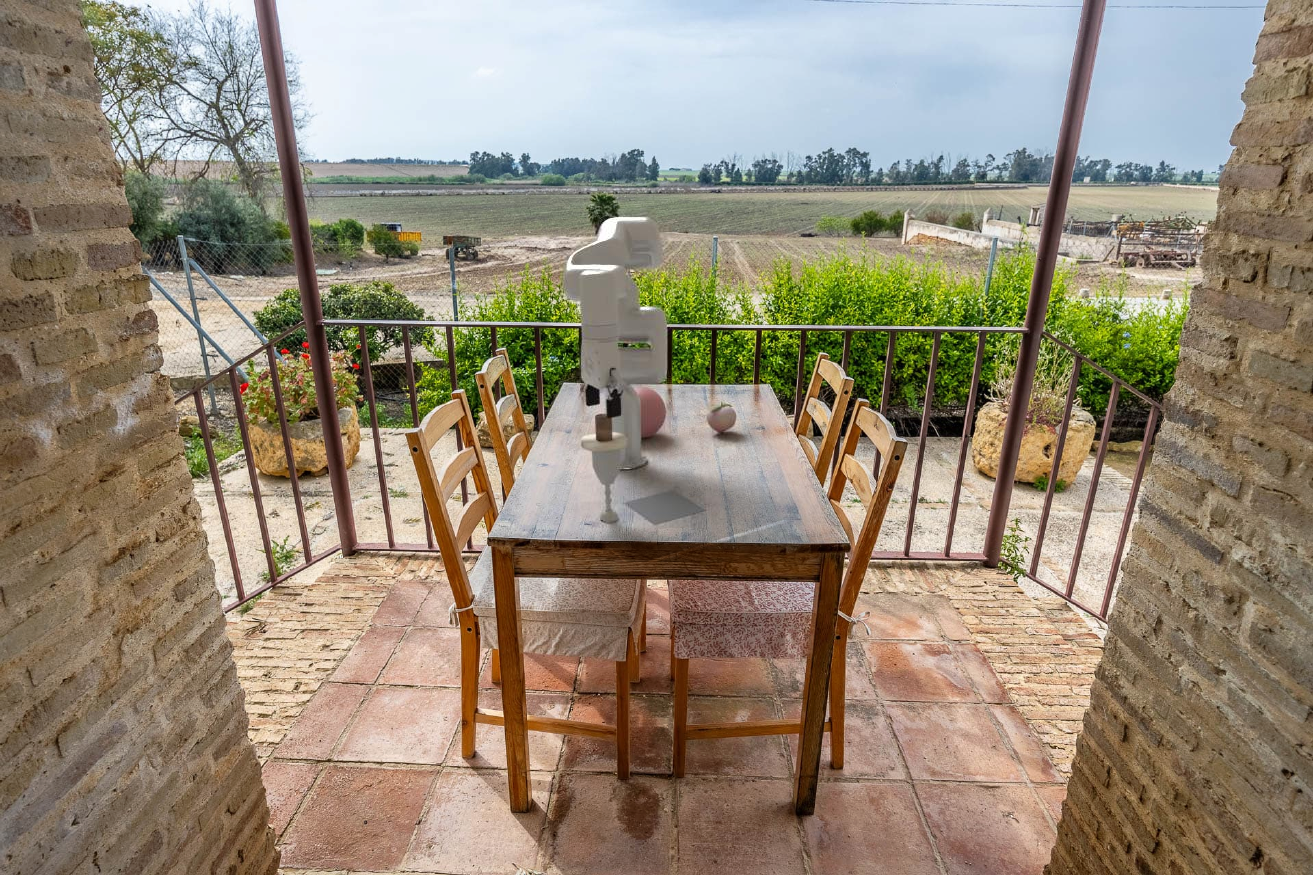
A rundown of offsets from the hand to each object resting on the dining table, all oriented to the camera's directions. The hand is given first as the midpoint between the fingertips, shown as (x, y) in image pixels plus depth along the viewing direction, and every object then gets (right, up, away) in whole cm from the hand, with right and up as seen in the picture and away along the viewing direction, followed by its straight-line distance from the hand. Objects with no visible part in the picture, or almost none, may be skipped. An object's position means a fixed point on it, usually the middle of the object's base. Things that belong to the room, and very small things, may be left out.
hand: (603, 410), depth 150 cm
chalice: (+1, -25, +8) cm, 26 cm away
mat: (+13, -22, +13) cm, 29 cm away
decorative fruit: (+32, -5, +65) cm, 72 cm away
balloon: (+7, -5, +65) cm, 65 cm away
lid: (0, -7, +2) cm, 7 cm away
